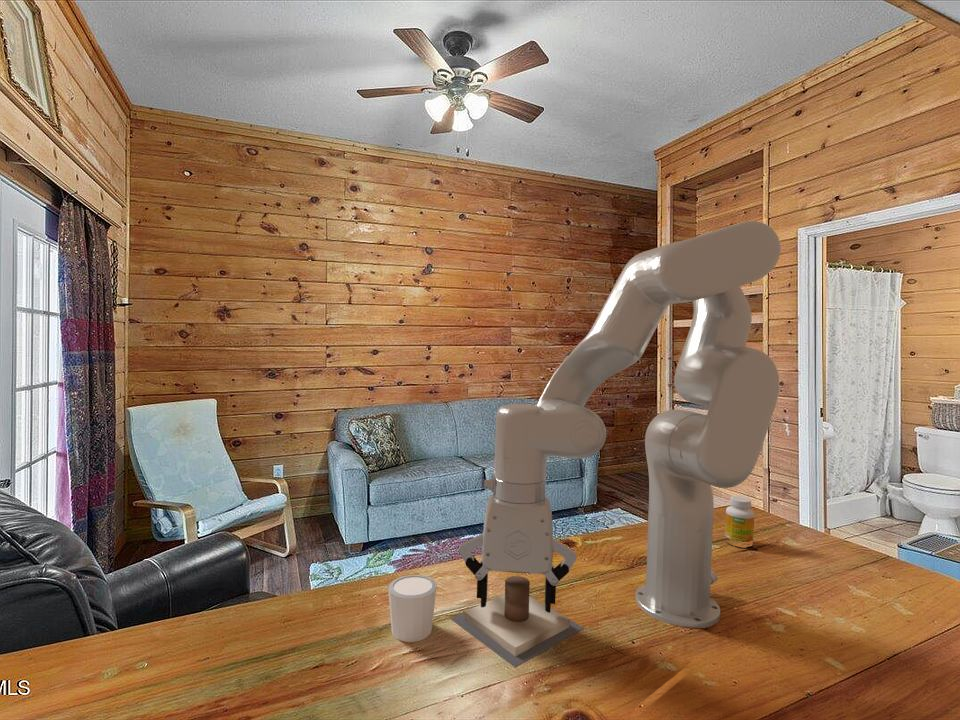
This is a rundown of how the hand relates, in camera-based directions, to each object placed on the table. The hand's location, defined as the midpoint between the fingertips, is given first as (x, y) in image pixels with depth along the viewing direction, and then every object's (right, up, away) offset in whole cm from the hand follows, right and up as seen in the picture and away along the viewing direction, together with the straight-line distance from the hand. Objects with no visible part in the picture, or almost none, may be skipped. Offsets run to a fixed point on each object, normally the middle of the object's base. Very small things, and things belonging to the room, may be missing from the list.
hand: (515, 604), depth 73 cm
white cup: (-15, -3, -2) cm, 15 cm away
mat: (0, -3, 0) cm, 3 cm away
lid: (0, -3, 0) cm, 3 cm away
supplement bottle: (+50, -3, +33) cm, 60 cm away
